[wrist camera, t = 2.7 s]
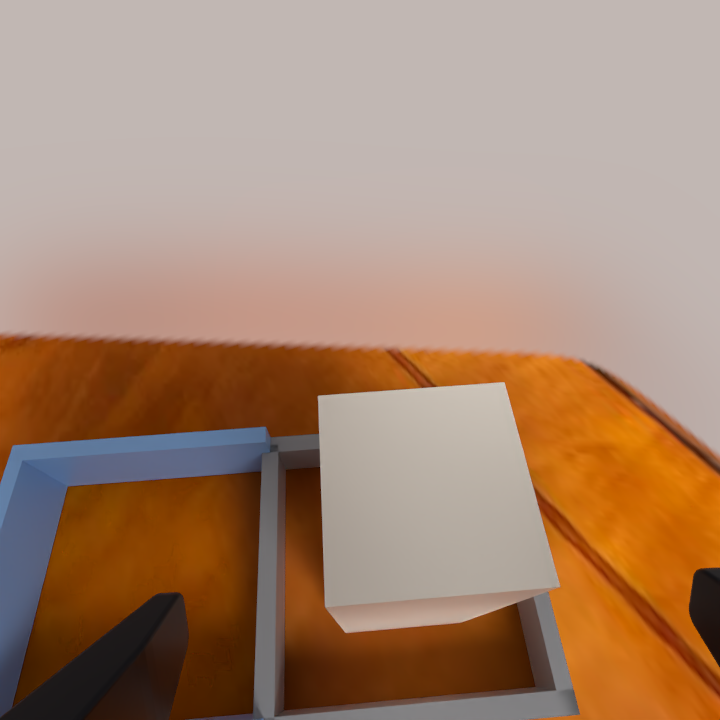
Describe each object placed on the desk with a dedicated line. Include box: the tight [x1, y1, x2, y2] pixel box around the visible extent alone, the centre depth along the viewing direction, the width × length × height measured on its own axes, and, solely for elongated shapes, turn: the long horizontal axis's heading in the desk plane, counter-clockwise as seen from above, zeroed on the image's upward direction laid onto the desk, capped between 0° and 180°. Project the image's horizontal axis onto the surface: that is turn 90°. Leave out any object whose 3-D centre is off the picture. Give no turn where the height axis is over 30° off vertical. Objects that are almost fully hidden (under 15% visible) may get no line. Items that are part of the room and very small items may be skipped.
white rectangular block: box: [318, 382, 560, 633], centre depth 13 cm, size 4×4×10 cm
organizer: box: [0, 427, 580, 720], centre depth 16 cm, size 18×9×3 cm, turn 94°
